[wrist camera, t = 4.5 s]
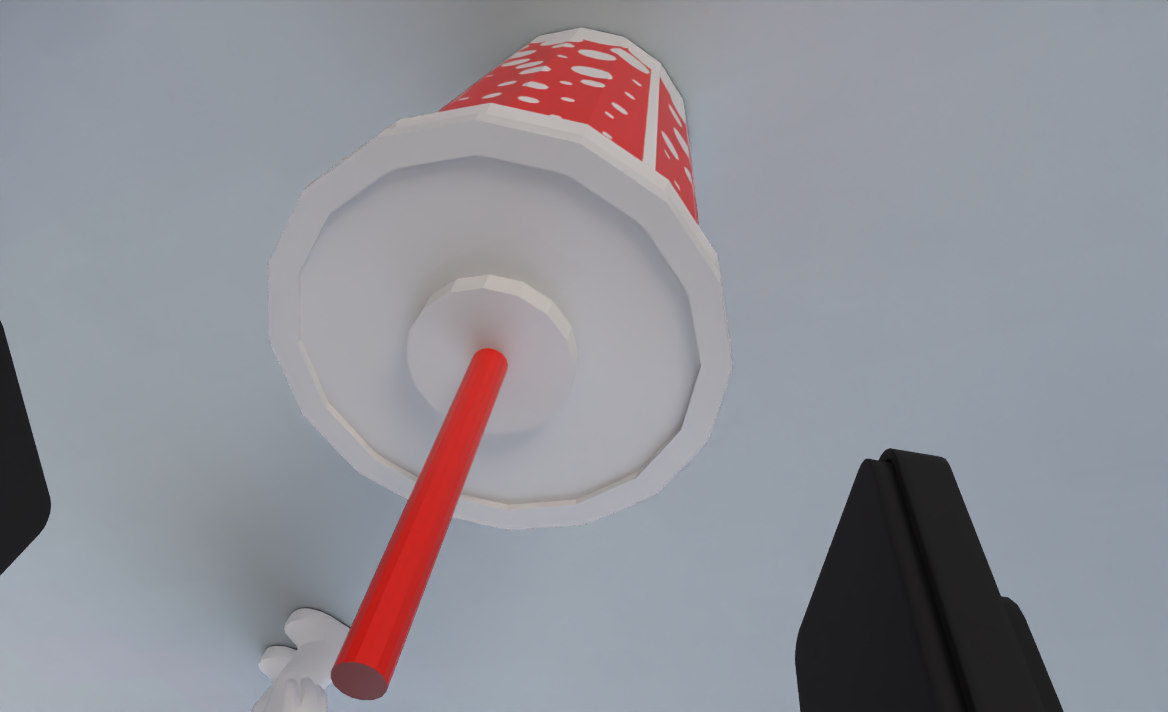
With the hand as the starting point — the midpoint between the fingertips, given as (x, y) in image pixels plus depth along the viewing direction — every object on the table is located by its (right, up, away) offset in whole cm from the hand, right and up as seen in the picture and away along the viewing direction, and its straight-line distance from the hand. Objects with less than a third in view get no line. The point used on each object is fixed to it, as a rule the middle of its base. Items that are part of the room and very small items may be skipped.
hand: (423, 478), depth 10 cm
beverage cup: (+2, +6, +9) cm, 11 cm away
